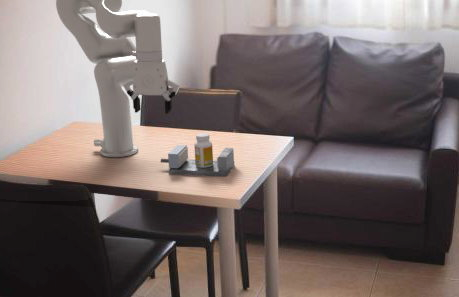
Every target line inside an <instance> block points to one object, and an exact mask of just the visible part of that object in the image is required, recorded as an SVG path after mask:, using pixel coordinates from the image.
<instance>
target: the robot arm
mask: <svg viewBox="0 0 459 297" xmlns="http://www.w3.org/2000/svg"><path fill="white" fill-rule="evenodd" d="M55 5H56V6H55V8H56V11H57V14H58V17H59V19H60V21H61V22H62V24H63V26H64V27H65V28H66V29H67V30H68V32H70V33H71V34H72V35H73V37H74V38H75V39H76V42H77V43H78V45H79V47H80V48H81V50H82V51H83V53H84V54H85V56H86V58H87V59H88V60H89V61H90V62H91V63H92V64H95V66H94V70H93V73H94V74H93V75H94V79H95V83H96V86H97V90H98V95H99V105H100V113H101V123H102V124H101V125H102V134H103V138H102V139H99V138H95V139H94V140H93V146H94V147H100V150H99V153H100V155H101V156H103V157H106V158H123V157H124V158H125V157H129V156H133V155H135V154H136V153H138V152H139V146H138V145H136V144H134V139H133V127H132V115H131V105H130V104H131V103H130V99H129V97H130V98H131V100H132V104H133V105H132V106H133V110H134V113H135V114H136V113H139V111H141V98H140V97H139V96H140V95H141V96H163V98H164V99H165V100H164V113H165V114H166V115H168V114H169V113H171V112H172V110H173V106H172V105H173V104H172V103H173V101H172V99H173V98H174V97H175V96H176V95H177V94H178V91H179V89H180V85H179V84H177V83H176V82H174V81H172V80H170V79H169V75H168V69H167V65H166V61H165V59H163V49H162V48H163V47H162V27H161V25H162V24H161V17H160V16H159V14H157V13H151V12H148V11H146V10H144V9H143V10H127V11H121V8H122V5H123V0H55ZM119 11H121V12H119ZM86 14H95V18H96V22H97V23H96V22H94V20H92V19H90V18H89V17H87V16H85V15H86ZM133 37H135V44H134V42H133V40H131V38H133ZM131 86H132V88H131ZM122 88H123V89H124V90H125V91H126V93H125V91H124V90H123V89H122ZM170 88H172V92H170V91H169V89H170Z"/></svg>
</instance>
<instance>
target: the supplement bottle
mask: <svg viewBox="0 0 459 297" xmlns="http://www.w3.org/2000/svg"><path fill="white" fill-rule="evenodd" d="M195 139H196V140H195V142H194V160H195V163H196V166H197V167H200V168H206V167H211V166H212V165H213V161H214V155H213V154H214V153H213V151H214V150H213V143H212V141H211V140H210V134H209V133H206V132H200V133H197V134H196V136H195Z"/></svg>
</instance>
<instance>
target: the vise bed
mask: <svg viewBox="0 0 459 297" xmlns="http://www.w3.org/2000/svg"><path fill="white" fill-rule="evenodd" d="M234 153H235V152H234V147H225V148H223V149H222V150H221V152H220V153H219V154H218V155H217V157H216V160H213V165H212V166H211V167H206V168H200V167H197V166H196V163H195V159H189V158H188V159H187V160H186V161H185V162H184V163H183V164H182V165H181V166H180V167H179V168H169V167H168V175H178V176H179V175H181V176H200V177H202V176H203V177H219V178H221V177H224V178H226V177H228V176H229V174H230V173H231V172H232V170H233V169H234V167H235V158H234V157H235V156H234Z"/></svg>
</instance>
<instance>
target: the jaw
mask: <svg viewBox="0 0 459 297" xmlns="http://www.w3.org/2000/svg"><path fill="white" fill-rule="evenodd" d="M188 149H189V148H188V147H187V145H184V144H183V145H182V144H177V145H176V146H174V148H173V149H172V150H170V151H169V152H168V153H167V158H160V163H164V164H165V163H167V164H168V169H169V168H179V167H180V166H181V165H182V164H183V163H184V162H185V161H186V160H187V159H189V150H188Z"/></svg>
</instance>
